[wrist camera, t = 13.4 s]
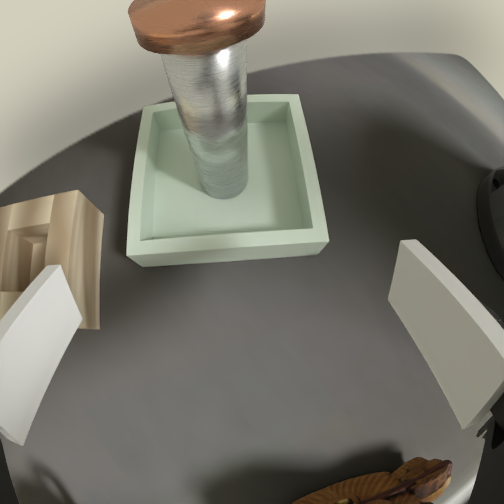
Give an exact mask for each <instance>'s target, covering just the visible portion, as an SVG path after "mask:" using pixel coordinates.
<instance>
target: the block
mask: <svg viewBox="0 0 504 504" xmlns="http://www.w3.org/2000/svg"><path fill="white" fill-rule="evenodd" d="M103 221H104V214H103V213H102V212H101V211H100V210H99V209H98V208H96V207H95V206H94V205H93V204H92V203H91V202H90V201H89V200H88V199H87V198H86V197H85V196H84V195H83V194H82V193H81V192H80V191H79V190H74V191H69V192H64V193H59V194H54V195H50V196H45V197H41V198H36V199H32V200H28V201H24V202H19V203H15V204H12V205H8V206H4V207H0V321H1V319H2V318H3V317H4V316H5V314H6V313H7V312H8V310H9V309H10V308H11V307H12V305H13V304H14V303H15V302H16V300H17V299H18V298H19V297H20V296H21V294H22V293H23V292H24V291H25V290H26V289H27V287H28V286H29V285H30V284H31V283H32V282H33V281H34V279H35V278H36V277H37V276H38V275H39V274H40V273H41V272H42V271H43V269H44V268H45V267H46V266H47V265H61V267H62V270H63V273H64V275H65V278H66V281H67V283H68V286H69V288H70V291H71V293H72V296H73V298H74V300H75V303H76V305H77V307H78V310H79V312H80V314H81V316H82V318H83V319H82V321H81V323H80V325H79V326H78V328H77V329H100V311H99V292H100V261H101V245H102V232H103Z"/></svg>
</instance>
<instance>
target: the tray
mask: <svg viewBox="0 0 504 504" xmlns="http://www.w3.org/2000/svg"><path fill="white" fill-rule="evenodd" d="M247 125H248V183H247V186H246V188H245V189H244V190H243V192H242V193H240V194H239V195H238V196H236V197H234V198H231V199H226V200H221V199H215V198H213V197H211V196H209V195H208V194H207V193H206V192H205V191H204V190H203V188H202V185H201V182H200V179H199V176H198V173H197V170H196V167H195V164H194V161H193V158H192V155H191V152H190V148H189V145H188V142H187V139H186V136H185V133H184V130H183V126H182V123H181V120H180V117H179V113H178V110H177V107H176V104H175V101H174V102H167V103H161V104H155V105H149V106H144V108H143V113H142V118H141V123H140V129H139V135H138V141H137V147H136V154H135V161H134V169H133V177H132V185H131V195H130V205H129V218H128V232H127V252H126V256H127V257H129V258H130V259H132V260H133V261H135V262H136V263H137V264H139V265H140V266H142V267H151V266H167V265H182V264H197V263H211V262H226V261H240V260H254V259H268V258H281V257H295V256H308V255H318V254H319V252H320V251H321V250H322V249H323V248H324V247H325V246H326V244H327V243H328V242H329V237H328V231H327V225H326V219H325V213H324V208H323V202H322V197H321V192H320V187H319V182H318V177H317V172H316V167H315V162H314V158H313V153H312V149H311V144H310V140H309V135H308V131H307V127H306V123H305V119H304V115H303V111H302V107H301V103H300V99H299V96H298V94H259V95H247Z"/></svg>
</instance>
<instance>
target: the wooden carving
mask: <svg viewBox="0 0 504 504" xmlns="http://www.w3.org/2000/svg"><path fill="white" fill-rule="evenodd" d="M451 470H452V462H451V461H450V460H444V461H442V460H439V459H433V460H430V461H428V460H426V459H424V458H422V457H416V458H413V459H411V460H409V461H407V462H406V463H404V464H403V465H402V466H401V467H399V468H398V469H397V470H395V471H394V472H393V473H392V474H391V473H390V472H385V471H384V472H377V473H371V474H366V475H363V476H358V477H355V478H351V479H347V480H345V481H342V482H339V483H336V484H333V485H331V486H327V487H326V488H323V489H321V490H318V491H316V492H314V493H310V494H309V495H306V496H304V497H302V498H300V499H298V500H296V501H295V502H293V503H291V504H433V503H431V502H432V501H434V500H435V499H437V498H438V497H439V496H440V495H442V494H443V492H444V491H445V489H446V487H447V486H448V485H449V484H450V482H451Z"/></svg>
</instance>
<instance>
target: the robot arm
mask: <svg viewBox="0 0 504 504" xmlns="http://www.w3.org/2000/svg"><path fill="white" fill-rule="evenodd" d="M477 211H478V219H479V224H480V229H481V233H482V236H483V240H484V243H485V246H486V248H487V251H488V253H489V256H490V258H491V260H492V262H493V264H494V266H495V268H496V269H497V271H498V272H499V274H500V275H501V277H502V278H503V279H504V166H503V167H500V168H497V169H495V170H494V171H493V172H491V173H490V174H489V175H488V176H486V177H485V178H484V179H483V180H482V182H481V184H480V186H479V190H478V195H477ZM388 301H389V303H390V304H391V306H392V307H393V309H394V310H395V312H396V313H397V315H398V316H399V318H400V319H401V321H402V323H403V324H404V326H405V327H406V329H407V331H408V332H409V334H410V335H411V337H412V339H413V340H414V342H415V344H416V345H417V347H418V349H419V350H420V352H421V354H422V355H423V357H424V359H425V360H426V362H427V364H428V366H429V367H430V369H431V371H432V373H433V374H434V376H435V378H436V380H437V382H438V383H439V385H440V387H441V389H442V391H443V393H444V394H445V396H446V398H447V400H448V402H449V404H450V406H451V408H452V410H453V412H454V414H455V416H456V418H457V420H458V422H459V424H460V426H461V428H462V430H464V429H466V428H468V427H470V426H472V425H474V424H476V423H477V422H479V421H481V419H482V418H483V417H484V416H485V415H486V414H487V413H488V411H489V410H490V411H491V412H492V414H493V416H492V417H491V418H490V419H489V420H488V421H487V422H486V423H485V425H484V426H483V427H482V428H481V429H480V430H479V431H478V433H477V437H479V436H480V435H481V434H482V433H483V432H484V431H485V430H486V429H487V432H486V433H485V435H484V436H483V438H485V444H484V449H483V453H482V458H481V462H480V466H479V470H478V473H477V477H476V481H475V484H474V487H473V490H472V493H471V497H470V499H469V502H468V504H504V322H503V321H502V322H501V319H500V318H499V316H498V315H497V314H496V313H495V312H494V311H493V310H492V309H491V308H490V307H488V306H487V305H485V304H484V303H482V302H481V301H478V300H477V299H476V297H475V296H474V295H473V294H472V293H471V292H470V291H469V290H468V289H467V288H466V287H465V286H464V285H463V284H462V283H461V282H460V281H459V280H458V279H457V278H456V277H455V276H454V275H453V274H452V273H451V272H450V271H449V270H448V269H447V268H446V267H445V266H444V265H443V264H442V263H441V262H440V261H439V260H438V259H437V258H436V257H435V256H434V255H433V254H432V253H431V252H429V251H428V250H427V249H426V248H425V247H424V246H423V245H422V244H421V243H420V242H419V241H417V240H416V239H414V240H400V244H399V250H398V255H397V260H396V265H395V270H394V275H393V279H392V284H391V288H390V292H389V296H388ZM82 319H83V318H82V316H81V314H80V312H79V310H78V307H77V305H76V303H75V300H74V298H73V296H72V293H71V291H70V288H69V286H68V283H67V281H66V278H65V275H64V273H63V270H62V267H61V265H47V266H46V267H45V268H44V269H43V271H42V272H41V273H40V274H39V275H38V276H37V277H36V278H35V279H34V281H33V282H32V283H31V284H30V285H29V286H28V287H27V289H26V290H25V291H24V292H23V293H22V294H21V296H20V297H19V298H18V299H17V300H16V302H15V303H14V304H13V305H12V307H11V308H10V309H9V310H8V312H7V313H6V314H5V316H4V317H3V318H2V319H1V321H0V432H1V433H2V434H3V435H4V436H5V437H6V438H7V439H8V440H10V441H12V442H15V443H17V444H19V445H22V446H23V445H24V442H25V440H26V437H27V434H28V432H29V429H30V427H31V424H32V422H33V419H34V417H35V414H36V412H37V410H38V407H39V405H40V403H41V400H42V398H43V396H44V394H45V391H46V389H47V387H48V385H49V383H50V381H51V378H52V376H53V374H54V372H55V370H56V368H57V366H58V364H59V362H60V360H61V358H62V356H63V354H64V352H65V350H66V348H67V347H68V345H69V343H70V341H71V339H72V337H73V335H74V334H75V332H76V330H77V328H78V326H79V325H80V323H81V321H82ZM0 504H19V502H18V499H17V496H16V493H15V490H14V487H13V484H12V481H11V478H10V474H9V470H8V467H7V463H6V459H5V455H4V450H3V446H2V442H1V439H0Z"/></svg>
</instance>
